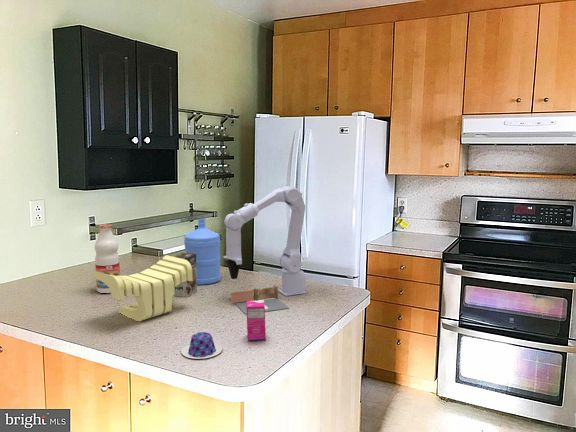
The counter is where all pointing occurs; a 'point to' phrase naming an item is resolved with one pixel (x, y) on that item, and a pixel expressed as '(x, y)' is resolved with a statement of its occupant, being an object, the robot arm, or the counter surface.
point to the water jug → (204, 253)
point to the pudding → (201, 346)
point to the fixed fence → (266, 293)
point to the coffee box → (188, 286)
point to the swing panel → (241, 296)
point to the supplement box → (256, 320)
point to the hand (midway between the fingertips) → (234, 278)
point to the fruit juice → (106, 256)
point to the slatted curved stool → (149, 287)
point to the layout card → (270, 305)
